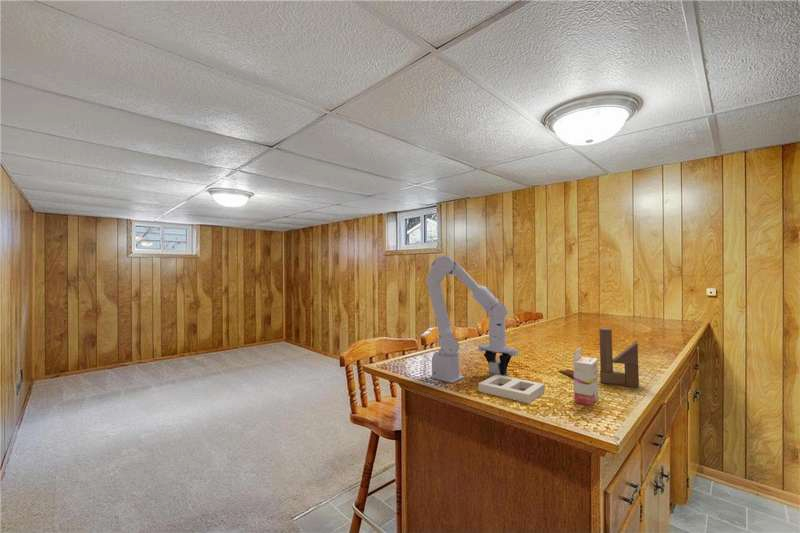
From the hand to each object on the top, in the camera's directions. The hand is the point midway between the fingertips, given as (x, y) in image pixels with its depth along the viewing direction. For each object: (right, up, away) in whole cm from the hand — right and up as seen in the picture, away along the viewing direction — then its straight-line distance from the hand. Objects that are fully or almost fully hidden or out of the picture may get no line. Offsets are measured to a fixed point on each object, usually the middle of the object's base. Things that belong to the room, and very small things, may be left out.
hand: (498, 373), depth 126 cm
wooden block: (+37, -1, -10) cm, 39 cm away
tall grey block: (0, -1, 0) cm, 1 cm away
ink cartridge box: (+19, -1, -23) cm, 30 cm away
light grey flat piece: (0, -1, -15) cm, 15 cm away
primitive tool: (+26, -2, -3) cm, 26 cm away
